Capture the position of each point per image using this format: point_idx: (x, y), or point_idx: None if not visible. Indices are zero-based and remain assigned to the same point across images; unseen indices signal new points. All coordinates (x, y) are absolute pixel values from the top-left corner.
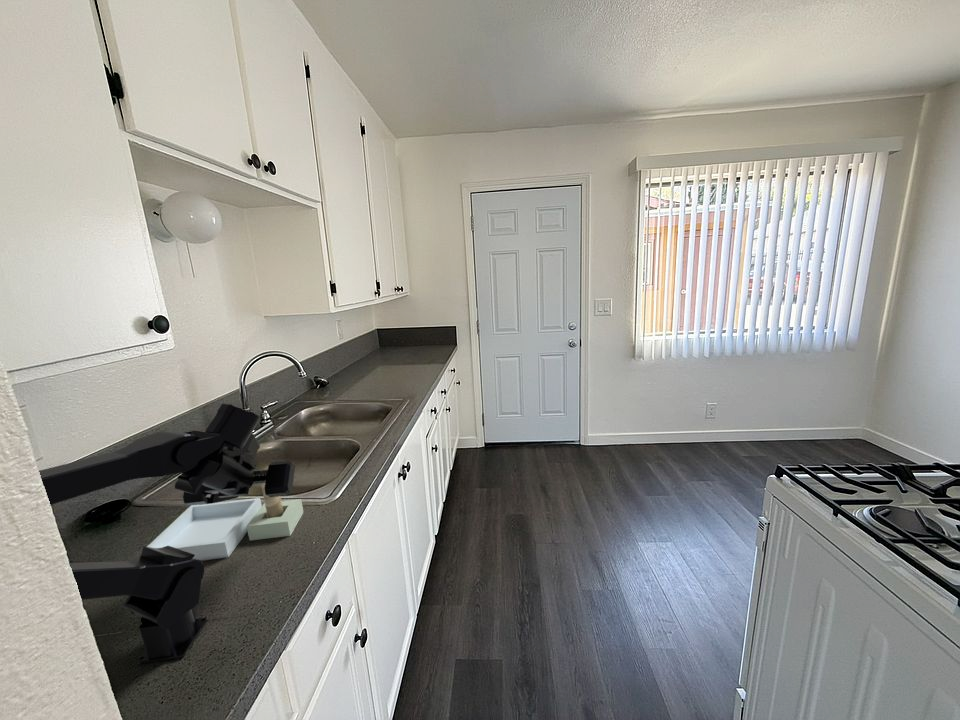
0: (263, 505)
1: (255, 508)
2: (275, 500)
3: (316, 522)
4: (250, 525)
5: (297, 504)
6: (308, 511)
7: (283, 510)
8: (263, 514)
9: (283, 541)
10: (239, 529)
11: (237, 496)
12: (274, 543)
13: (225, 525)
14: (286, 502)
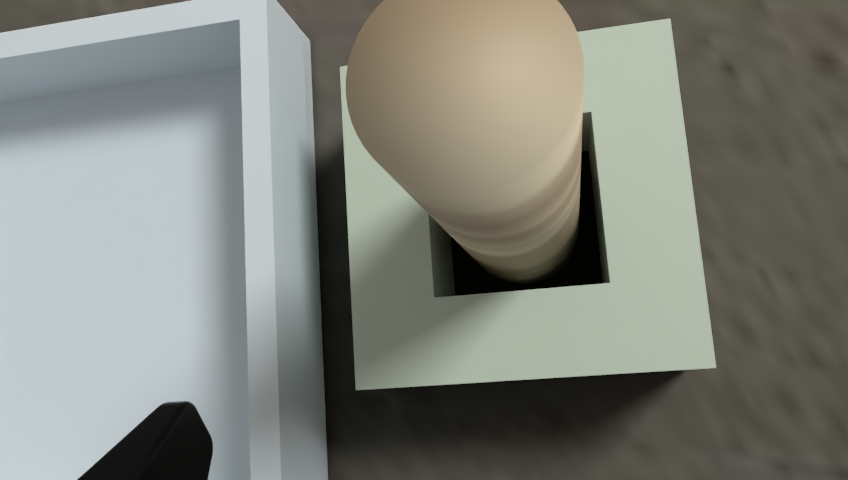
0: None
1: (282, 95)
2: (560, 220)
3: (834, 205)
4: (383, 380)
5: (676, 102)
6: (685, 56)
7: None
8: (419, 231)
9: (659, 418)
10: (292, 362)
11: (205, 458)
12: (596, 433)
13: (137, 217)
14: None
